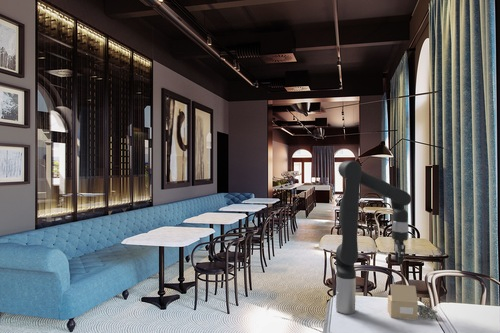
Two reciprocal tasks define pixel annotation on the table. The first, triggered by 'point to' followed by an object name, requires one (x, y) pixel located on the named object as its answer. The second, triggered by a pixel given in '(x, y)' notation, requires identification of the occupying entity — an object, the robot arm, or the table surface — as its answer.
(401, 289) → the flap
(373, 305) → the table surface
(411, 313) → the carton
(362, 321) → the table surface
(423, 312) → the grey textured block
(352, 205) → the robot arm
